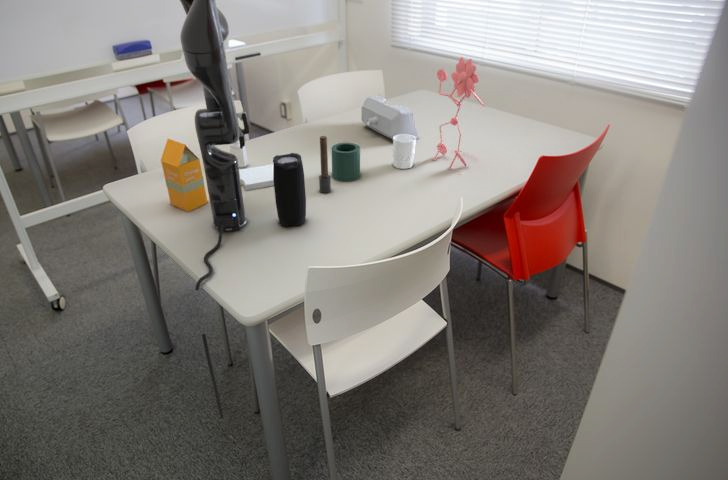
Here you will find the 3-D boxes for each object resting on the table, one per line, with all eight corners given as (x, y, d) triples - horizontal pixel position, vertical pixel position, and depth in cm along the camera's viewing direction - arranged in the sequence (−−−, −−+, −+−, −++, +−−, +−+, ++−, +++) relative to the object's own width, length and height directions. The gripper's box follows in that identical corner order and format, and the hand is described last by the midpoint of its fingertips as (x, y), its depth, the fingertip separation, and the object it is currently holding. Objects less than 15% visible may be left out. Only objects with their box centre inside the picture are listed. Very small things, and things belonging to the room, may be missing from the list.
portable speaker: (302, 212, 153) (298, 149, 142) (310, 226, 145) (307, 162, 134) (274, 216, 151) (268, 153, 140) (281, 231, 143) (275, 166, 132)
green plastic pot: (361, 180, 170) (361, 152, 165) (333, 182, 170) (332, 153, 164) (357, 169, 178) (358, 141, 173) (331, 170, 178) (330, 143, 172)
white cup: (388, 167, 179) (389, 140, 173) (396, 159, 185) (398, 132, 179) (409, 171, 176) (411, 143, 170) (417, 163, 182) (419, 136, 176)
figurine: (462, 178, 170) (476, 69, 150) (419, 153, 189) (426, 53, 170) (498, 169, 175) (516, 63, 156) (453, 145, 195) (464, 48, 175)
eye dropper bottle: (237, 169, 180) (233, 136, 173) (230, 164, 184) (226, 132, 177) (248, 166, 182) (244, 133, 176) (241, 161, 186) (237, 129, 179)
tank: (351, 128, 213) (351, 98, 206) (383, 122, 220) (384, 92, 213) (385, 147, 195) (386, 114, 188) (418, 139, 202) (421, 107, 195)
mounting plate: (281, 168, 181) (280, 162, 179) (291, 182, 170) (291, 176, 169) (230, 176, 175) (230, 171, 174) (239, 191, 165) (238, 186, 164)
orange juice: (190, 195, 164) (178, 134, 153) (207, 202, 159) (196, 140, 148) (170, 204, 159) (156, 142, 148) (187, 212, 154) (174, 149, 143)
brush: (331, 193, 163) (329, 138, 153) (320, 193, 163) (317, 139, 153) (330, 188, 166) (328, 134, 156) (319, 188, 166) (316, 135, 156)
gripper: (190, 99, 136) (201, 155, 146) (243, 95, 137) (251, 152, 147) (193, 90, 142) (203, 145, 152) (244, 87, 143) (251, 141, 153)
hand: (227, 148), depth 149 cm, fingers open, 8 cm apart
